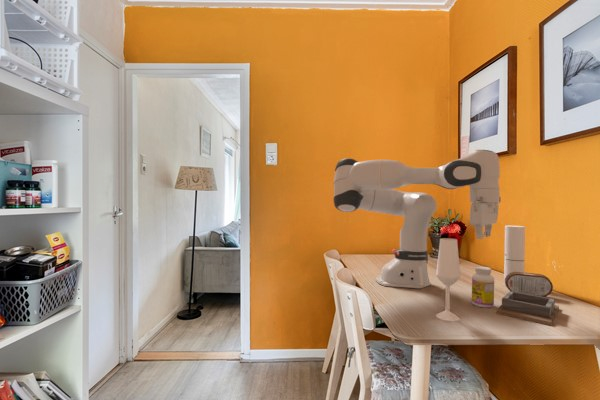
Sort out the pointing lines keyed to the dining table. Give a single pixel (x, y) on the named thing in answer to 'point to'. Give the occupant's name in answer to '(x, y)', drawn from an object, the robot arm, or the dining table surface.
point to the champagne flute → (448, 272)
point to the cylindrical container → (514, 249)
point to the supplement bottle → (483, 288)
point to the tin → (529, 283)
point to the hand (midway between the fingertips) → (483, 237)
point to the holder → (529, 307)
